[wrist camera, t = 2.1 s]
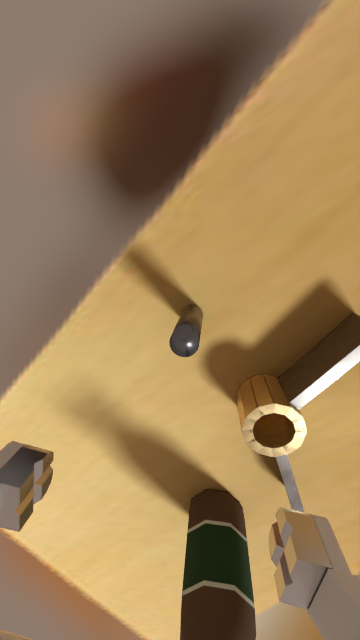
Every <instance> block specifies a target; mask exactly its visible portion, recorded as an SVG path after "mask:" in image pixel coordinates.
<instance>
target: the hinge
mask: <svg viewBox="0 0 360 640" xmlns="http://www.w3.org/2000/svg"><path fill="white" fill-rule="evenodd" d="M359 361H360V316H359V315H357V314H355V313H353V314H351V315H350V316H349V317H348V318H347V319H346V320H344V321H343V322H342V323H341V324H340V325H339V326H338V327H336V328H335V329H334V330H333V331H332V332H331V333H329V334H328V335H327V336H326V337H325V338H324V339H323V340H321V341H320V342H319V343H318V344H317V345H316V346H314V347H313V348H312V349H311V350H310V351H309V352H308V353H306V354H305V355H304V356H303V357H302V358H301V359H299V360H298V361H297V362H296V363H295V364H294V365H293V366H291V367H290V368H289V369H288V370H287V371H286V372H285V373H283V374H282V375H281V376H280V377H279V378H276V377H274V376H269V375H265V374H261V375H257V376H253V377H250V378H248V379H247V380H246V381H245V382H244V383H243V384H242V385H240V387H239V390H238V394H237V404H238V411H239V417H240V424H241V430H242V434H243V437H244V440H245V442H246V444H247V445H248V446H249V447H250V448H252V449H253V450H254V451H255V452H256V453H258V454H262V455H266V456H270V457H273V456H274V457H276V460H277V463H278V466H279V470H280V473H281V476H282V479H283V482H284V485H285V489H286V492H287V495H288V498H289V501H290V505H291V508H292V510H295V511H300V512H304V509H303V506H302V503H301V499H300V496H299V493H298V489H297V486H296V483H295V479H294V476H293V473H292V469H291V466H290V463H289V460H288V456H287V455H288V454H290V453H292V452H293V451H294V450H296V449H297V448H298V447H300V446H301V444H302V443H303V441H304V438H305V435H306V433H307V430H306V426H305V422H304V419H303V417H302V415H301V413H300V411H299V409H300V408H302V407H303V406H304V405H305V404H307V403H308V402H309V401H310V400H312V399H313V398H314V397H315V396H317V395H318V394H319V393H320V392H322V391H323V390H324V389H325V388H327V387H328V386H329V385H330V384H332V383H333V382H334V381H335V380H337V379H338V378H339V377H340V376H342V375H343V374H344V373H345V372H347V371H348V370H349V369H350V368H352V367H353V366H354V365H355V364H357V363H358V362H359ZM304 513H305V512H304Z"/></svg>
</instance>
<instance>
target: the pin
mask: <svg viewBox="0 0 360 640" xmlns="http://www.w3.org/2000/svg"><path fill="white" fill-rule="evenodd" d="M202 319H203V312H202V310H201V309H200V308H199V307H198V306H196V305H188V306H186V307H185V308H184V309H183V311H182V313H181V316H180V318H179V320H178V322H177V324H176V327H175V329H174V331H173V333H172V335H171V338H170V347H171V349H172V351H173V352H174V353H175V354H176V355H178V356H181V357H189V356H191V355H193V354H194V353H195V352H196V351H197V350H198V347H199V341H200V334H201V326H202Z"/></svg>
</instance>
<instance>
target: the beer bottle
mask: <svg viewBox="0 0 360 640" xmlns="http://www.w3.org/2000/svg"><path fill="white" fill-rule="evenodd" d="M255 638H256V626H255V608H254V599H253V590H252V581H251V573H250V564H249V555H248V546H247V537H246V529H245V520H244V514H243V508H242V506H241V504H240V503H238V502H237V501H236V500H235V499H234V498H233V497H232V496H231V495H230V494H229V493H228V492H226V491H218V490H210V489H207V490H205V491H203V492H202V493H200V494H199V495H197V496H195V497H194V498H192V500H191V504H190V511H189V522H188V533H187V545H186V556H185V567H184V579H183V590H182V606H181V632H180V640H255Z"/></svg>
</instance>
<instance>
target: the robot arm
mask: <svg viewBox="0 0 360 640" xmlns="http://www.w3.org/2000/svg"><path fill="white" fill-rule="evenodd" d="M52 461H53V452H52V451H48V450H45V449H41V448H38V447H34V446H30V445H27V444H22V443H19V442H15V441H12V442H10V443H8V444H7V445H6V446H5V447H4V448H3V449H2V450H1V451H0V527H1V528H5V529H9V530H14V531H18V532H19V531H20V530H21V529H22V527H23V526H24V524H25V523H26V521H27V520H28V518H29V517H30V515H31V514H32V513H33V504H35V503H36V502H38V501H40V500H41V499H42V498H43V496H44V495H45V493H46V492H47V489H48V487H49V485H50V483H51V479H52V475H53V469H52V468H51V466H50V464H51V463H52ZM276 519H277V522H276V523H274V524H272V526H271V530H270V534H269V551H270V556H271V560H272V561H273V562H274V564H275V565H276V567H277V569H276V571H275V574H274V578H275V583H276V588H277V593H278V598H279V602H283V603H286V604H289V605H293V606H296V607H299V608H303V609H306V610H308V614H309V615H310V617H311V619H312V620H313V622H314V624H315V625H316V627H317V629H318V630H319V632H320V634H321V635H322V637H323V639H324V640H360V579H359V578H358V577H357V576H356V575H352V574H351V571H350V569H349V567H348V564H347V562H346V560H345V558H344V555H343V553H342V551H341V548H340V546H339V544H338V541H337V539H336V537H335V535H334V532H333V530H332V528H331V525H330V523H329V521H328V520H327V519H326V518H325V517H320V516H316V515H312V514H308V513H304V512H300V511H295V510H291V509H287V508H282V507H280V508H279V509H278V510H277V513H276ZM0 640H33V639H29V638H26V637H23V636H19V635H16V634H13V633H9V632H5V631H2V630H0Z"/></svg>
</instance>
